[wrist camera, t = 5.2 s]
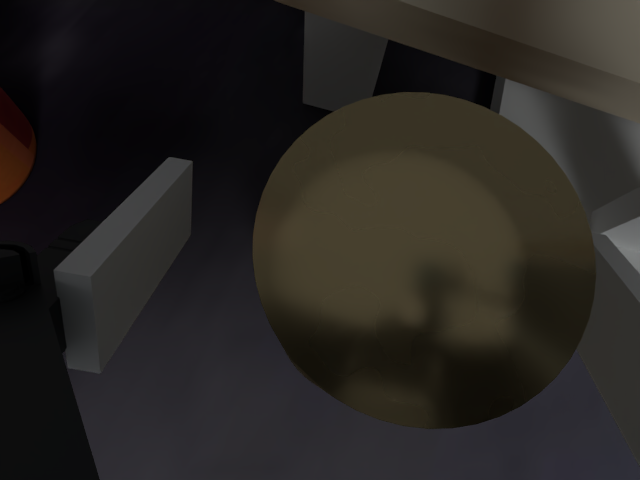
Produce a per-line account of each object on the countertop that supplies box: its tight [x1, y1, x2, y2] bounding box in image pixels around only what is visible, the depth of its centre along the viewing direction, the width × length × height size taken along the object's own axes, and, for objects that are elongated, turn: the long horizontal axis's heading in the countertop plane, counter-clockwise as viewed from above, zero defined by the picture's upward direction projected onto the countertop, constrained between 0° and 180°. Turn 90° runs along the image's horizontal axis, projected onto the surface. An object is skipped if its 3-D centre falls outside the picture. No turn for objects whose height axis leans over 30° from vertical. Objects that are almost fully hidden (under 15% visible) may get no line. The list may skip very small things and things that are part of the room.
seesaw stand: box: [303, 11, 640, 274], centre depth 19 cm, size 20×16×8 cm
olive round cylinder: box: [253, 92, 596, 429], centre depth 14 cm, size 6×6×12 cm
